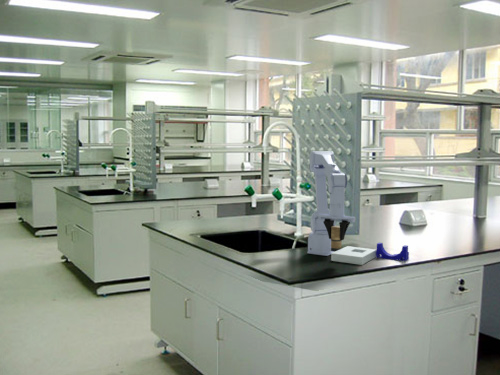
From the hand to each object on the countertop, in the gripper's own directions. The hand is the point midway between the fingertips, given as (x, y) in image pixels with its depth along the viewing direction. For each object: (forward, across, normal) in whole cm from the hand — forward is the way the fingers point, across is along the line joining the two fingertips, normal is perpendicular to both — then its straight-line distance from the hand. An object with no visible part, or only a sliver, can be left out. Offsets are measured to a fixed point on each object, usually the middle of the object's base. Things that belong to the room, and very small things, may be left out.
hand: (336, 239), depth 194 cm
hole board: (+10, +2, +14) cm, 18 cm away
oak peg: (+3, 0, 0) cm, 3 cm away
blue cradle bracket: (+11, +15, +24) cm, 30 cm away
